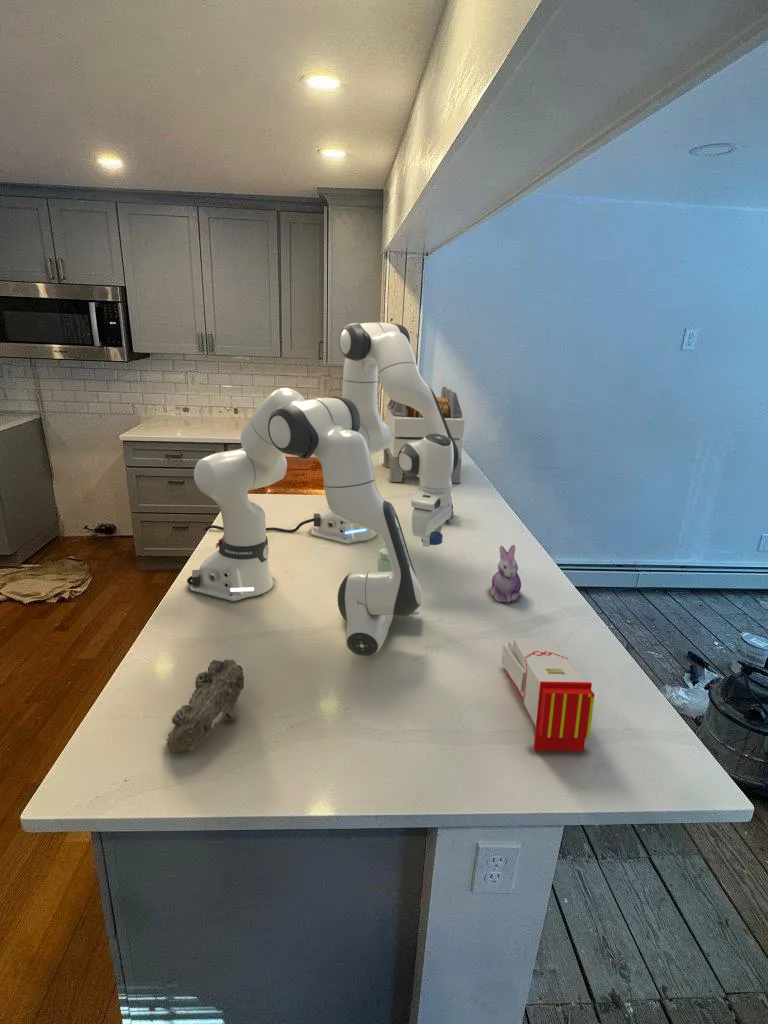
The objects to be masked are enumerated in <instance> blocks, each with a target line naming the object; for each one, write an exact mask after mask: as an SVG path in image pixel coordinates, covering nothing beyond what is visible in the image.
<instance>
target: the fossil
mask: <svg viewBox="0 0 768 1024" xmlns="http://www.w3.org/2000/svg"><path fill="white" fill-rule="evenodd" d="M243 670H244V669H243V667H242V665H240V664H237V662H236V661H235V660H234V659H232V658H231V659H227V658H226V659H224V660H223V661H222V660H217V659H212V660H211V661H210V663H209V665H208V666H207V671H201V672H199V673H198V674H197V675H196V676H195V680H194V684H195V685H194V687H195V689H194V690H193V693H192V694H191V697H190V698H189V700H188V704H184V705H182V706H181V707H180V709H177V710H176V711H175V713H174V715H173V716H172V718H171V723H172V724H173V727H172V730H171V731H170V732H168V734H167V738H166V741H167V742H166V745H167V749H168V750H169V751H173V752H174V753H176V754H178V753H182V752H188V751H189V752H192V751H193V750H195V748H196V747H197V746H199V744H200V743H201V742H203V741H204V740H205V739H206V738H207V737H208V736H209V735H210V734H211V733H212V732H214V730H215V729H217V727H218V726H219V724H220V722H221V721H222V720H223V719H224V718H225V716H226V717H227V719H229V720H233V717H232V715H230V714H229V710H230V709H231V708H234V706H235V704H236V703H237V702H238V699H239V697H240V695H241V693H242V691H243V690H245V689H244V688H245V675H244V671H243Z"/></svg>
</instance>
